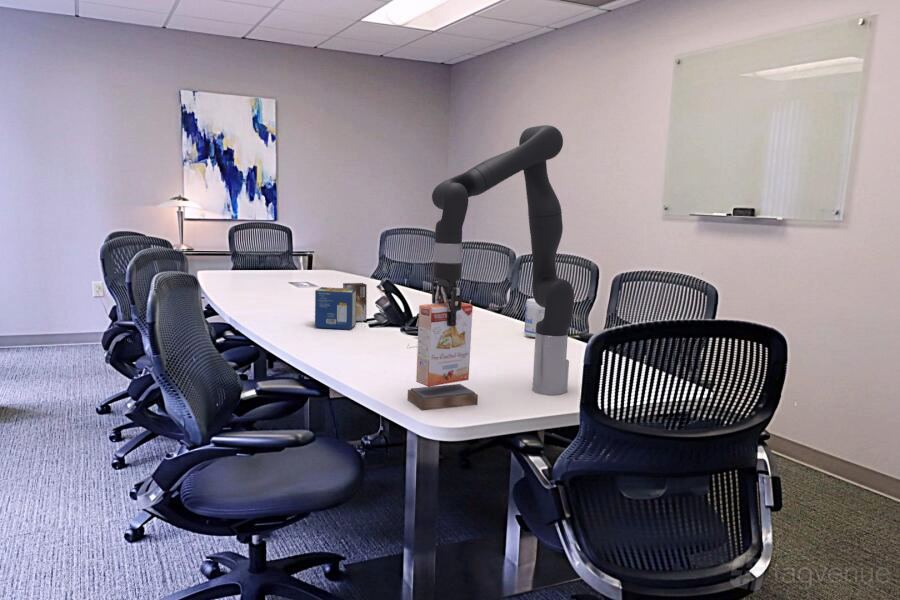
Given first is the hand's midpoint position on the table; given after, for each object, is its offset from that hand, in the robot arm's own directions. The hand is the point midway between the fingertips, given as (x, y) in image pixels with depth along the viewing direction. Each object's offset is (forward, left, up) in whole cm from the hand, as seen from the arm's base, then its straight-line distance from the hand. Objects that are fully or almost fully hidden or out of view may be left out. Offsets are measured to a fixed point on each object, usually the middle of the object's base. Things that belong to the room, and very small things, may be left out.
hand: (445, 323), depth 180 cm
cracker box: (0, 0, -16) cm, 16 cm away
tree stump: (-27, -66, -22) cm, 75 cm away
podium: (0, 0, -22) cm, 22 cm away
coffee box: (-15, -125, -22) cm, 128 cm away
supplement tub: (-76, -73, -22) cm, 108 cm away
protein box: (-3, -113, -22) cm, 115 cm away
